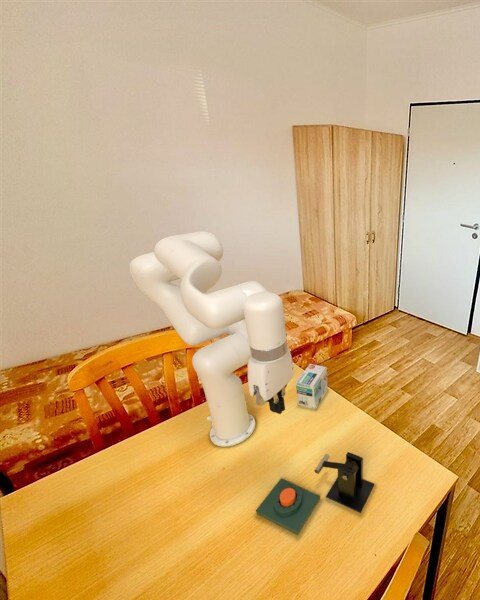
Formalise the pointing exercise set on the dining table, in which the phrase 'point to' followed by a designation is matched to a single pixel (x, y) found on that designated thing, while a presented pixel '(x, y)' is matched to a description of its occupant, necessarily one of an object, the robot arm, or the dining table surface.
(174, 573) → the dining table surface
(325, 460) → the switch lever
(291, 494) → the button
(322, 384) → the light bulb box
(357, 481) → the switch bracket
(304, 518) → the control block
